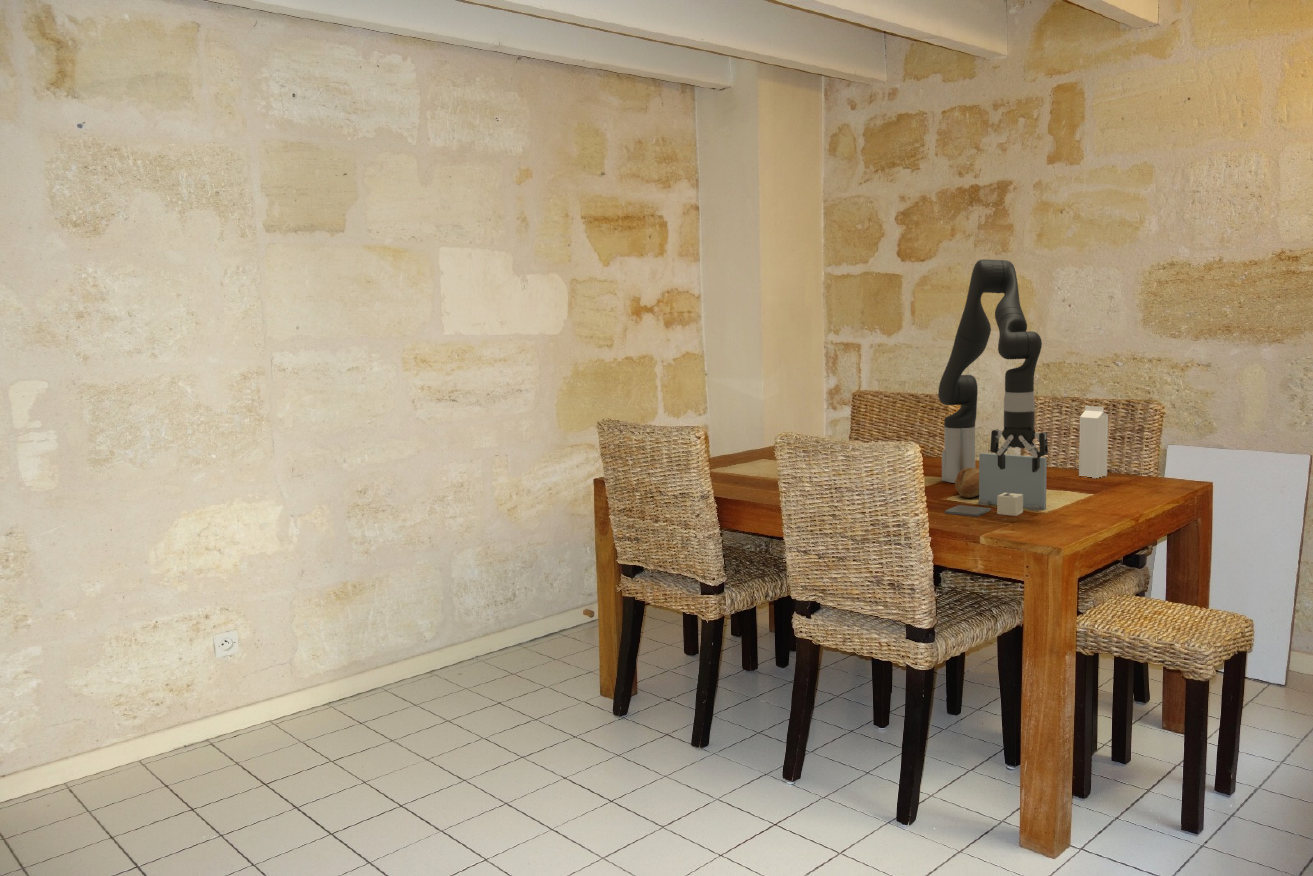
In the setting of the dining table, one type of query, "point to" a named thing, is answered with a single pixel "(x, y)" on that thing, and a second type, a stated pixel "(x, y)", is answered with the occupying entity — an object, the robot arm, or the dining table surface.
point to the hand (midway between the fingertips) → (1018, 470)
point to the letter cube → (1010, 504)
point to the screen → (1012, 480)
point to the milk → (1093, 442)
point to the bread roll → (968, 482)
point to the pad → (968, 510)
